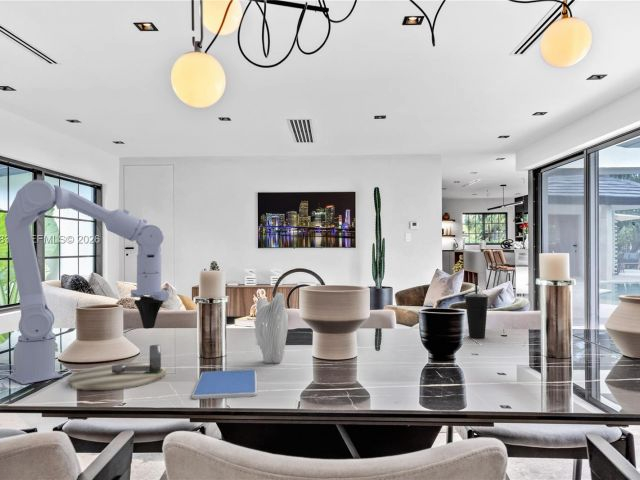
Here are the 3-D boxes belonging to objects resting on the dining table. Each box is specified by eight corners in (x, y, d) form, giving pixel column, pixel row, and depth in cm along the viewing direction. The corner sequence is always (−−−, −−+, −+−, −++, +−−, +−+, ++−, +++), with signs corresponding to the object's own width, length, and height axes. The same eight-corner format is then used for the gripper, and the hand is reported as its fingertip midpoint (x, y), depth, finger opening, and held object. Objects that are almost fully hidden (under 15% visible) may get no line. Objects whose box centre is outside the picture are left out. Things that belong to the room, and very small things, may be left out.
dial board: (53, 379, 103) (53, 374, 103) (138, 363, 118) (138, 358, 118) (93, 396, 90) (93, 391, 90) (183, 375, 105) (183, 370, 105)
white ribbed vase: (257, 358, 122) (256, 290, 123) (288, 358, 123) (288, 290, 123) (253, 366, 114) (253, 293, 115) (287, 365, 114) (287, 292, 115)
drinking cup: (491, 336, 153) (490, 275, 154) (486, 340, 147) (485, 276, 148) (468, 334, 157) (467, 275, 158) (462, 338, 151) (461, 276, 152)
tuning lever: (109, 372, 103) (109, 347, 103) (114, 369, 106) (115, 345, 106) (158, 371, 103) (158, 347, 103) (162, 368, 106) (162, 344, 106)
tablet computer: (201, 376, 107) (201, 370, 107) (256, 374, 109) (256, 368, 109) (190, 402, 88) (190, 395, 88) (257, 399, 90) (257, 392, 90)
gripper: (179, 273, 114) (179, 328, 114) (148, 272, 123) (148, 323, 123) (153, 274, 109) (152, 332, 108) (123, 272, 118) (122, 326, 118)
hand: (148, 327), depth 115 cm, fingers closed
